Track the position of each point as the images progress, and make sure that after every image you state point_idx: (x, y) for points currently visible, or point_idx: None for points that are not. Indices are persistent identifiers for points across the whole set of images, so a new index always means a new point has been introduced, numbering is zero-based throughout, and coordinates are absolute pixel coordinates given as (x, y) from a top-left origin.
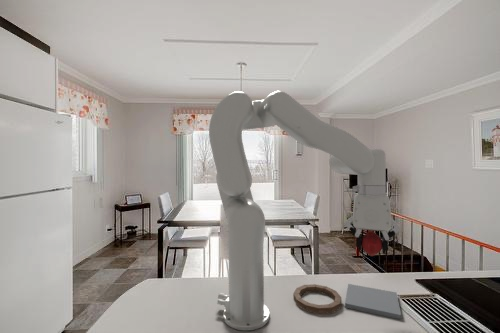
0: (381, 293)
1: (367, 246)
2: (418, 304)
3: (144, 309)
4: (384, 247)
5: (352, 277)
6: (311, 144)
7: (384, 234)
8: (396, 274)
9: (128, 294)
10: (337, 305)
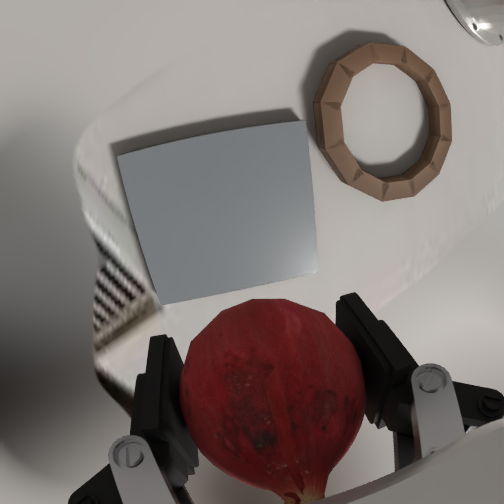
0: (201, 270)
1: (302, 317)
2: (99, 284)
3: None
4: (153, 372)
5: None
6: None
7: (151, 489)
8: None
9: None
10: (324, 88)
